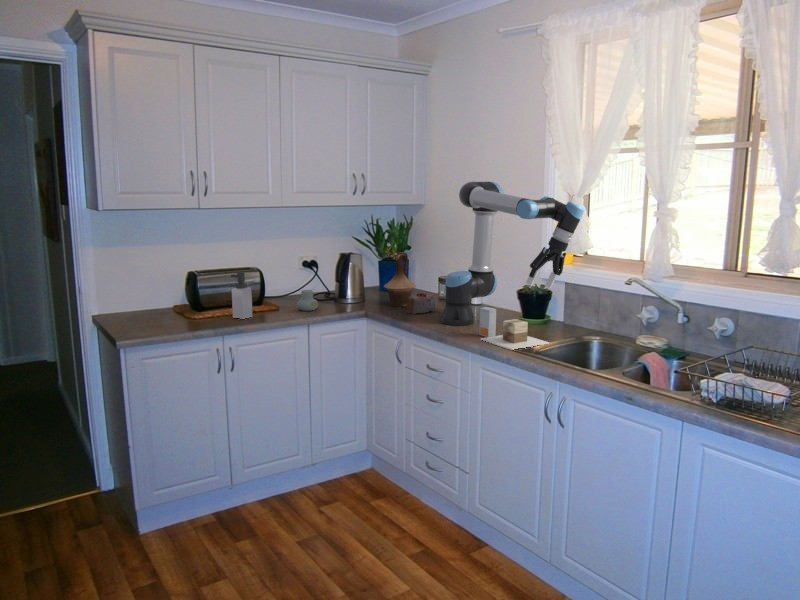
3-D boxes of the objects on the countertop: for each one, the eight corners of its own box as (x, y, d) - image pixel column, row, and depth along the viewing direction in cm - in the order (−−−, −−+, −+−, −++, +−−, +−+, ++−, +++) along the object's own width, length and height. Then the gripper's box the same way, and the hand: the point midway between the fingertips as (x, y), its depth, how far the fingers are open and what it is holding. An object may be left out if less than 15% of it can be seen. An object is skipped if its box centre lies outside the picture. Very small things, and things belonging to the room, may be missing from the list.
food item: (426, 309, 328) (426, 290, 326) (436, 312, 322) (437, 292, 320) (405, 312, 320) (405, 293, 318) (415, 315, 314) (415, 295, 312)
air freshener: (307, 307, 332) (306, 288, 330) (320, 309, 328) (320, 289, 327) (294, 311, 323) (293, 291, 321) (307, 312, 319) (307, 293, 317)
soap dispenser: (238, 315, 312) (236, 270, 308) (252, 317, 308) (250, 272, 304) (229, 318, 306) (227, 272, 302) (243, 319, 302) (241, 273, 298)
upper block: (502, 330, 263) (503, 320, 262) (515, 328, 266) (516, 319, 266) (514, 333, 257) (514, 324, 256) (527, 331, 260) (527, 322, 260)
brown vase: (393, 300, 352) (393, 250, 346) (421, 303, 344) (422, 251, 339) (378, 306, 336) (378, 253, 331) (407, 309, 329) (407, 255, 323)
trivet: (480, 339, 266) (480, 338, 266) (516, 334, 276) (516, 332, 276) (512, 350, 249) (512, 349, 249) (550, 344, 259) (550, 342, 259)
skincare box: (478, 335, 274) (479, 307, 272) (486, 333, 276) (487, 306, 274) (488, 338, 269) (489, 310, 267) (496, 336, 271) (496, 309, 269)
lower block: (502, 339, 263) (502, 330, 263) (515, 337, 267) (515, 328, 266) (514, 343, 258) (514, 333, 257) (527, 341, 261) (527, 331, 260)
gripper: (549, 238, 250) (527, 287, 256) (583, 247, 267) (561, 292, 273) (535, 231, 255) (513, 278, 261) (570, 240, 272) (548, 284, 278)
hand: (538, 285), depth 267 cm, fingers open, 13 cm apart
